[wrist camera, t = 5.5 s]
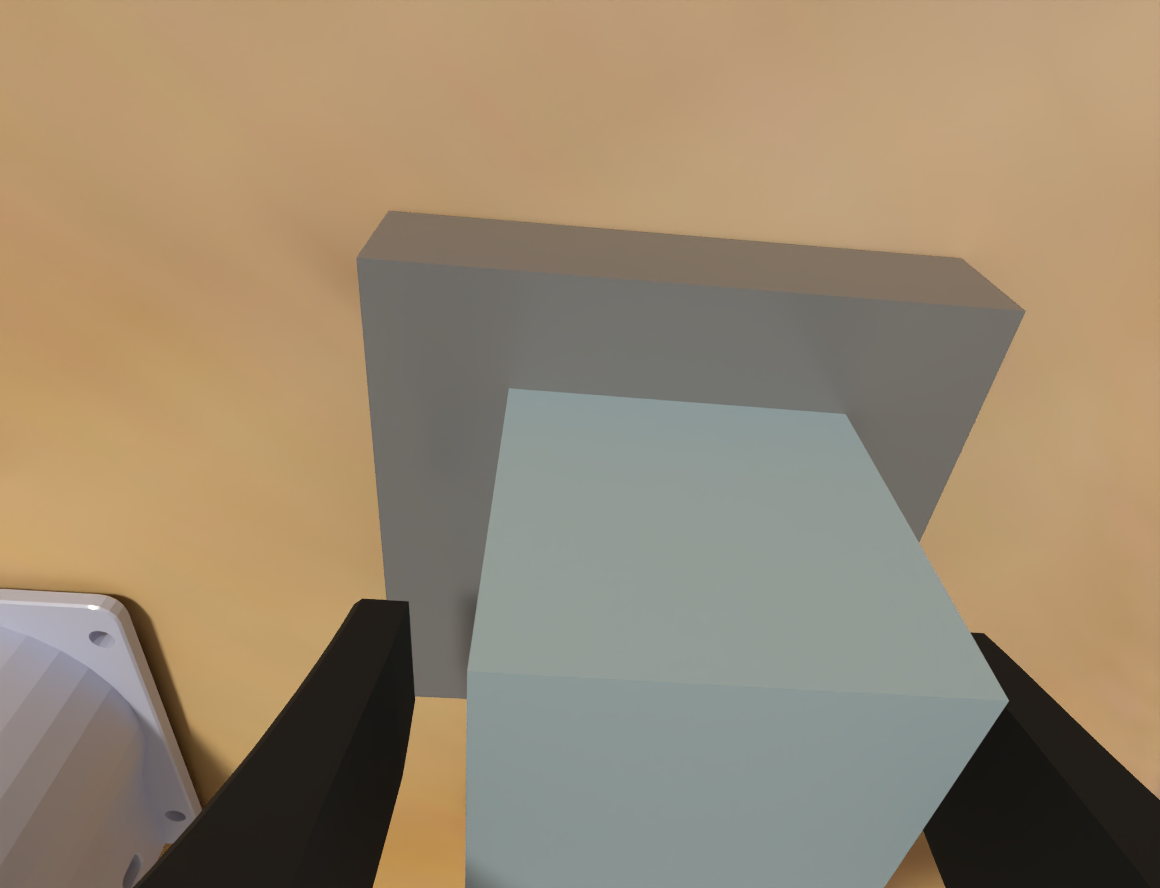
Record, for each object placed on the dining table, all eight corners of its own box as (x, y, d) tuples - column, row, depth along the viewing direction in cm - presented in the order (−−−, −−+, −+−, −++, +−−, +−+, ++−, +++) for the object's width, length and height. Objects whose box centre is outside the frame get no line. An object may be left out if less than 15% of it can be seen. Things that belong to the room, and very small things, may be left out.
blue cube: (766, 639, 14) (849, 940, 10) (498, 624, 13) (465, 926, 9) (845, 414, 11) (1009, 700, 7) (508, 388, 11) (467, 671, 7)
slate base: (812, 640, 17) (838, 717, 15) (413, 618, 16) (395, 694, 15) (962, 258, 12) (1026, 310, 10) (388, 210, 11) (356, 257, 10)
